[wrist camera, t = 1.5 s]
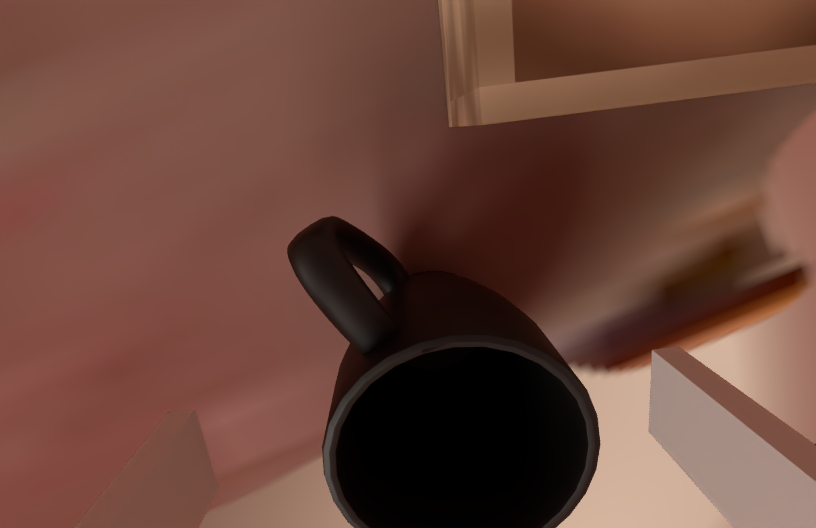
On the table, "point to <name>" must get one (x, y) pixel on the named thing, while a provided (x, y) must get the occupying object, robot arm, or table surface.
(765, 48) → the open wooden box
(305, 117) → the table surface
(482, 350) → the mug
